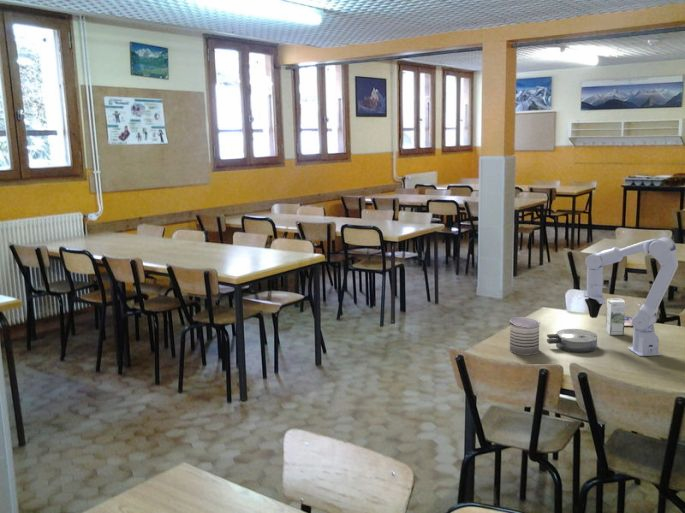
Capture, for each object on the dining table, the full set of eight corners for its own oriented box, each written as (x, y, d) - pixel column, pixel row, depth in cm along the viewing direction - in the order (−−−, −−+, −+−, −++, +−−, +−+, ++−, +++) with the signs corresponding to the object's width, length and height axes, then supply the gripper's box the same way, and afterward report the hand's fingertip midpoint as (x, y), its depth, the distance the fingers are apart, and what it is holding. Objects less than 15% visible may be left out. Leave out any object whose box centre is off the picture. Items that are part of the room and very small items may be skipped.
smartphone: (620, 325, 278) (613, 316, 293) (620, 328, 278) (613, 318, 293) (638, 326, 277) (630, 316, 291) (638, 328, 277) (630, 318, 291)
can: (527, 344, 260) (527, 315, 258) (545, 352, 250) (546, 322, 248) (503, 348, 256) (503, 318, 254) (520, 357, 246) (521, 326, 244)
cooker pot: (603, 352, 248) (603, 341, 247) (554, 354, 247) (555, 344, 246) (586, 340, 263) (587, 330, 262) (541, 342, 262) (541, 332, 261)
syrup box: (619, 331, 272) (621, 297, 270) (624, 335, 266) (625, 301, 264) (605, 331, 273) (606, 298, 270) (609, 335, 267) (611, 301, 264)
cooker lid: (603, 341, 247) (604, 339, 247) (555, 344, 246) (555, 341, 246) (587, 329, 262) (587, 327, 262) (541, 332, 261) (541, 329, 261)
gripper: (576, 280, 263) (576, 312, 265) (592, 288, 248) (591, 322, 251) (593, 279, 263) (593, 312, 265) (610, 287, 249) (609, 321, 251)
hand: (593, 317), depth 258 cm, fingers closed
